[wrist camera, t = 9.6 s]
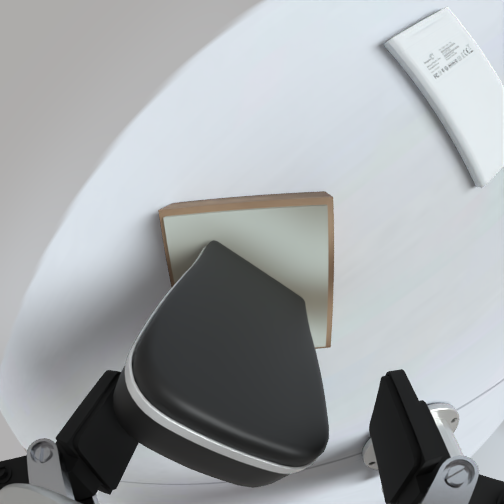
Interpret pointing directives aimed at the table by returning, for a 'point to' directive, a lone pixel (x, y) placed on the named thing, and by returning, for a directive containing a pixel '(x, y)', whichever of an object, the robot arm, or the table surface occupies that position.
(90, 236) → the table surface
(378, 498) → the table surface
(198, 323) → the battery charger
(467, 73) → the external hard drive
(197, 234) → the plinth
